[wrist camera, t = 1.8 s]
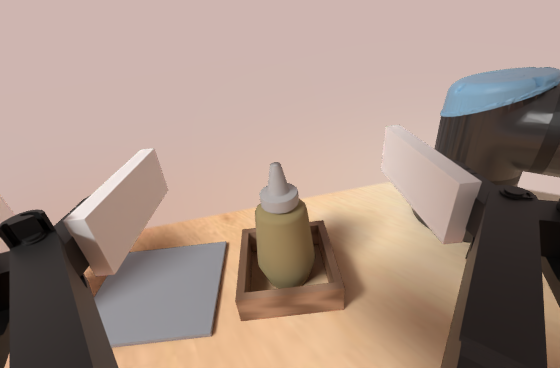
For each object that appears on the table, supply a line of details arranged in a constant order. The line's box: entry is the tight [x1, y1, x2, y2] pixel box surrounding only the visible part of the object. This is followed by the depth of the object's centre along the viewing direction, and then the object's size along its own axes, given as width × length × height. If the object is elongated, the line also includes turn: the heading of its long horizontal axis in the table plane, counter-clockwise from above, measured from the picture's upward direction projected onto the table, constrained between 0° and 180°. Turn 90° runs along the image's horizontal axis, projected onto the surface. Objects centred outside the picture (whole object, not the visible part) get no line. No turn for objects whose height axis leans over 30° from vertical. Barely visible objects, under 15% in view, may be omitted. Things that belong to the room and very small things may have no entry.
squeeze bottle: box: [255, 162, 315, 289], centre depth 35 cm, size 8×8×18 cm
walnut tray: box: [235, 220, 345, 321], centre depth 38 cm, size 13×13×4 cm
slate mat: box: [94, 242, 227, 348], centre depth 39 cm, size 18×16×1 cm
